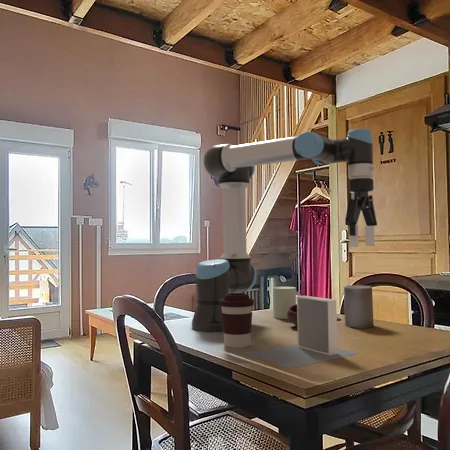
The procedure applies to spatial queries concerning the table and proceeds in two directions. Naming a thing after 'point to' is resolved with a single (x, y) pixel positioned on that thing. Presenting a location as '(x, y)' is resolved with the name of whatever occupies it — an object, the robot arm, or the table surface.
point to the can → (283, 301)
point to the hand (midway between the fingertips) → (362, 246)
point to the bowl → (292, 314)
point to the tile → (317, 324)
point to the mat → (295, 356)
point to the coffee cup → (236, 319)
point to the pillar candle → (358, 306)
